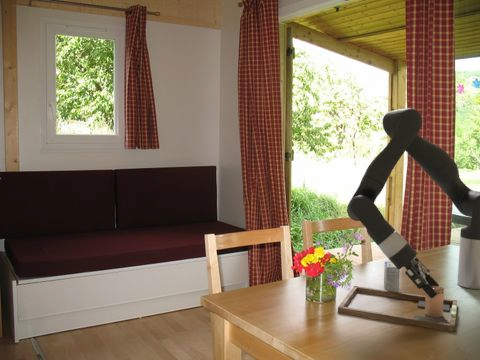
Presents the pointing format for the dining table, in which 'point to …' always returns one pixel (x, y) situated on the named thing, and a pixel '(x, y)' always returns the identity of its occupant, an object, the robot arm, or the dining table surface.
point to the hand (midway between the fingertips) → (435, 291)
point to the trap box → (396, 318)
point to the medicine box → (391, 277)
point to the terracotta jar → (435, 303)
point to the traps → (422, 305)
